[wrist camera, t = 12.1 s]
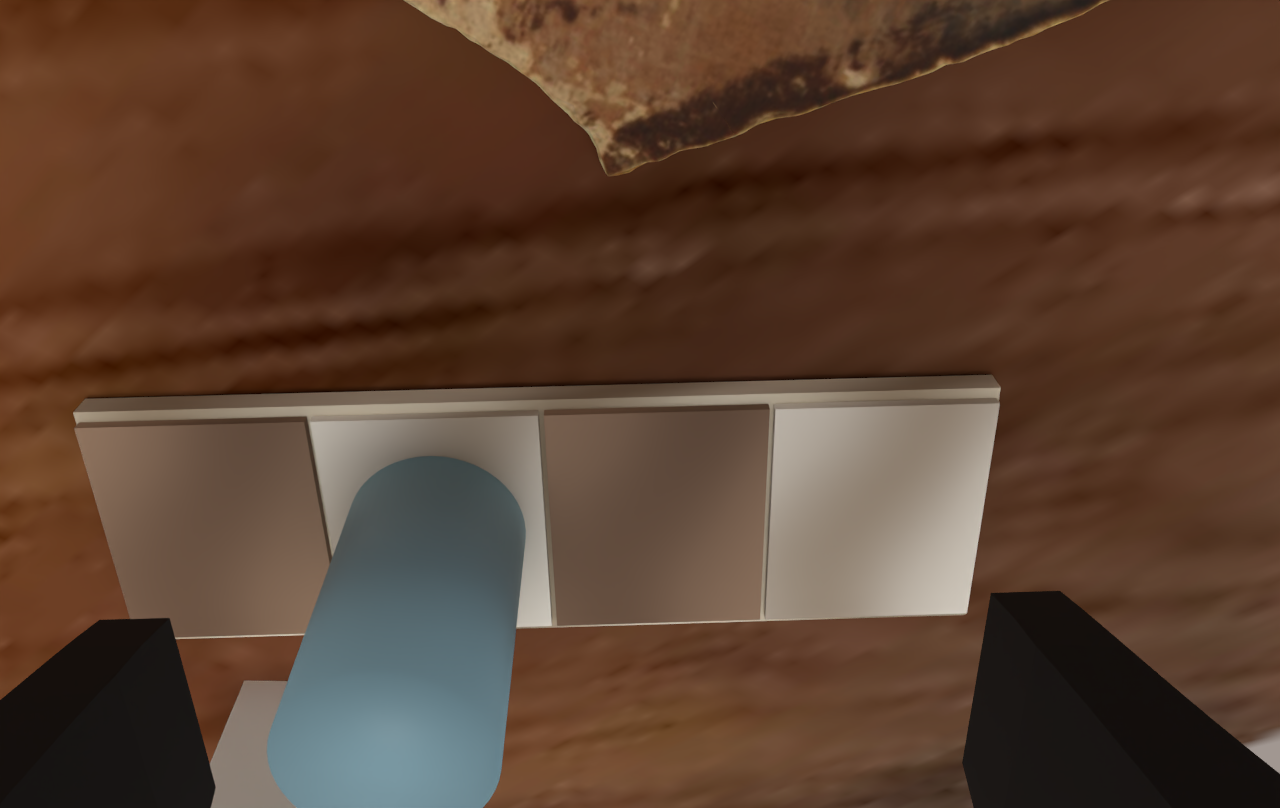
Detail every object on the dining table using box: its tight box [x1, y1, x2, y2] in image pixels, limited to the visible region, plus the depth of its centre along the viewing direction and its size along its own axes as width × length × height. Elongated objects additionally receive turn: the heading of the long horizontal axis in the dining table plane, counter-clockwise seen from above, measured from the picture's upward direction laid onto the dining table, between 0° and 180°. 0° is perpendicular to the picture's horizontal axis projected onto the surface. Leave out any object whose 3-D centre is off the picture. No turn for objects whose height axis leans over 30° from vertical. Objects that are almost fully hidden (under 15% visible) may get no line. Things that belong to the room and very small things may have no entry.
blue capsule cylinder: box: [267, 456, 526, 808], centre depth 18 cm, size 3×3×6 cm
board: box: [73, 375, 1001, 639], centre depth 20 cm, size 16×5×1 cm, turn 91°
